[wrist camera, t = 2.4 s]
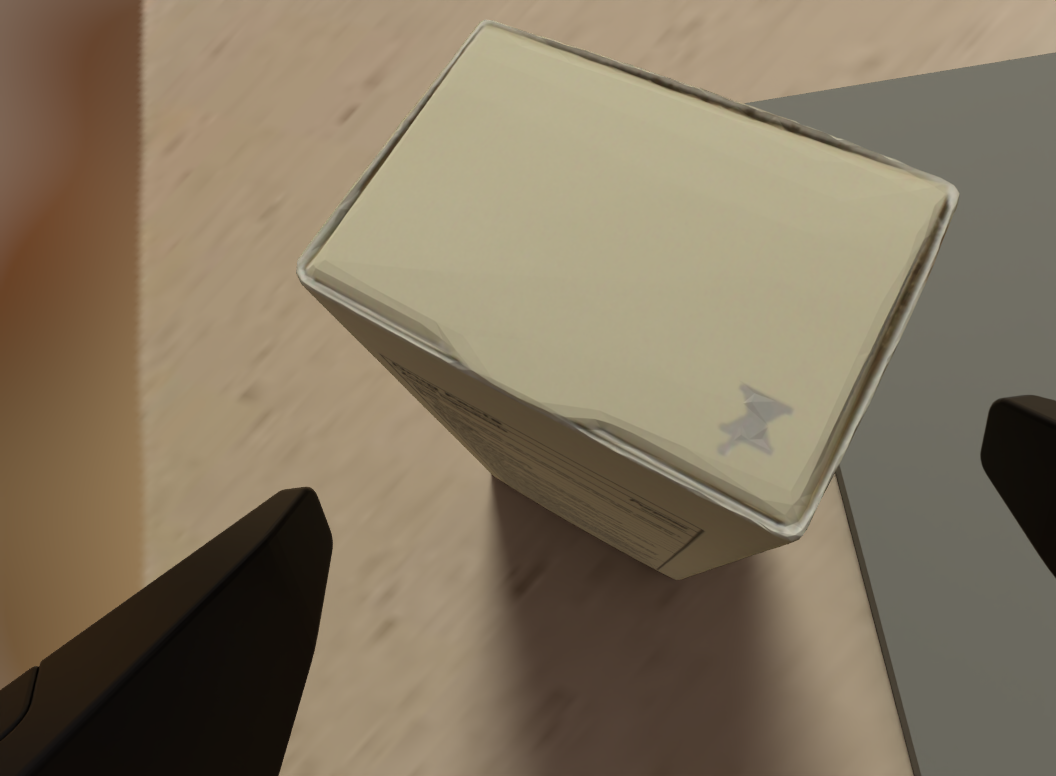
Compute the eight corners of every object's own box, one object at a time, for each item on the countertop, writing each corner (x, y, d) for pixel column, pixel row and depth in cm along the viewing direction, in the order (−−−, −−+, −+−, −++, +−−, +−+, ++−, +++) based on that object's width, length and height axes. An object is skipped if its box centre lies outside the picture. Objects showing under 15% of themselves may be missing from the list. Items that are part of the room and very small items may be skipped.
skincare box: (749, 447, 18) (1013, 187, 6) (678, 587, 17) (838, 575, 6) (551, 346, 20) (478, -9, 8) (476, 469, 19) (273, 267, 7)
